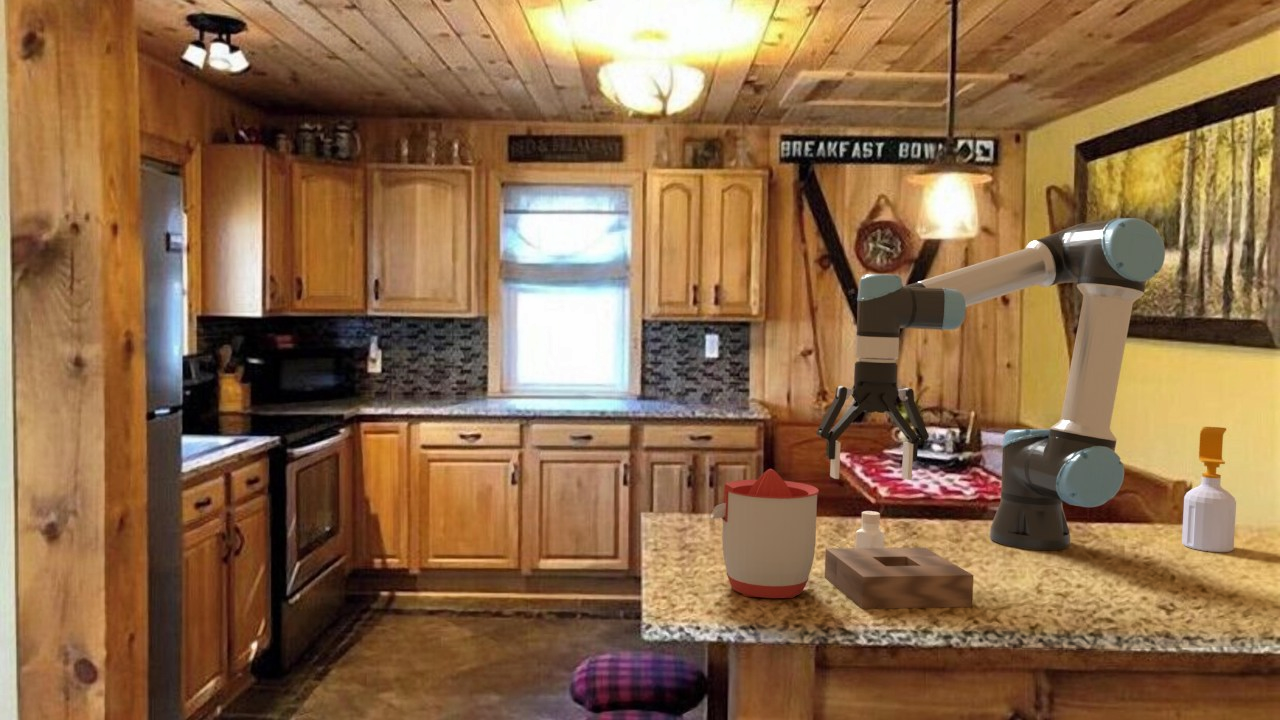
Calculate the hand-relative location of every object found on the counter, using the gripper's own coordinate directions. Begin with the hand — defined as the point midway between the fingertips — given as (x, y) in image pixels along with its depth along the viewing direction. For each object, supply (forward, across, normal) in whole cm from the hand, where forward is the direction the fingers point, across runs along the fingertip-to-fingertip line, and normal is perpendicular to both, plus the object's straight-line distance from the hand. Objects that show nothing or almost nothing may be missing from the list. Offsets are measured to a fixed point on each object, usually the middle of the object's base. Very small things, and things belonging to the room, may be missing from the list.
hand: (870, 478), depth 181 cm
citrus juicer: (+16, +24, +15) cm, 32 cm away
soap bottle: (+15, -76, -10) cm, 78 cm away
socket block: (+16, +2, +17) cm, 23 cm away
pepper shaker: (+16, 0, 0) cm, 16 cm away
